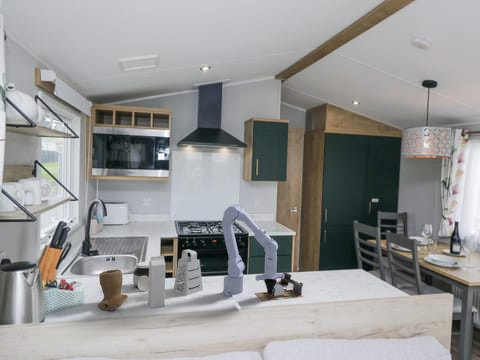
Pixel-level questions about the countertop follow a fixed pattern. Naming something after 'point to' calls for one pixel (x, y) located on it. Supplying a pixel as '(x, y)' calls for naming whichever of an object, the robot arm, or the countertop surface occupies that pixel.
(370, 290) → the countertop surface
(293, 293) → the rail board
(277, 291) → the brushed steel box
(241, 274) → the robot arm
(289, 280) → the mechanical counter
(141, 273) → the spread jar
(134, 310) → the countertop surface
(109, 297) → the brown boot
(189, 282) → the grater
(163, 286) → the milk
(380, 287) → the countertop surface
